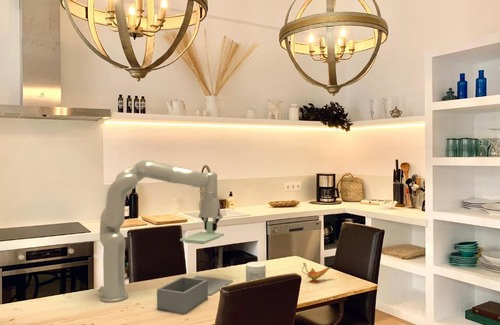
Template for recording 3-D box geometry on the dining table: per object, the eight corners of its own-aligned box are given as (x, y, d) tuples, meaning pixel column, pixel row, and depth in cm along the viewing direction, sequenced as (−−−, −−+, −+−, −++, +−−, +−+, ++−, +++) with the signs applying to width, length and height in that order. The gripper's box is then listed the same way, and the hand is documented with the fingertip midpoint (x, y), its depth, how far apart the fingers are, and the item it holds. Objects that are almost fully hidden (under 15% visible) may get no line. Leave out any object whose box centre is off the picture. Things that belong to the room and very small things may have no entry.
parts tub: (157, 309, 182) (156, 289, 182) (182, 295, 201) (182, 276, 200) (184, 314, 177) (184, 293, 176) (207, 299, 195) (207, 280, 195)
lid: (180, 242, 208) (179, 226, 208) (200, 235, 226) (200, 220, 226) (204, 245, 202) (204, 228, 202) (223, 237, 220) (223, 222, 220)
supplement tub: (245, 291, 206) (244, 261, 206) (264, 290, 207) (264, 261, 206) (246, 298, 196) (246, 267, 196) (267, 297, 197) (266, 266, 197)
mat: (172, 289, 209) (172, 288, 209) (197, 276, 231) (197, 275, 231) (211, 295, 200) (211, 294, 200) (233, 281, 222) (233, 280, 222)
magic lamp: (334, 281, 221) (334, 260, 221) (305, 285, 215) (305, 264, 214) (327, 277, 228) (327, 257, 227) (298, 281, 221) (298, 260, 221)
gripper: (193, 195, 221) (193, 230, 222) (220, 197, 215) (221, 232, 215) (200, 194, 228) (200, 228, 229) (227, 195, 221) (227, 230, 222)
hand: (210, 229), depth 222 cm, fingers closed on lid, 4 cm apart
